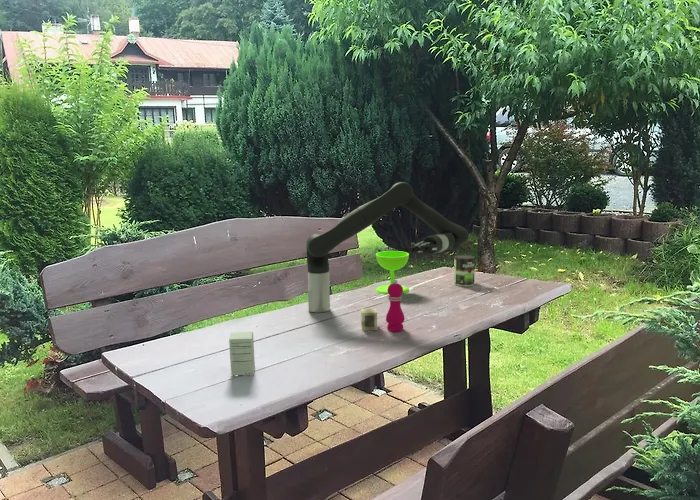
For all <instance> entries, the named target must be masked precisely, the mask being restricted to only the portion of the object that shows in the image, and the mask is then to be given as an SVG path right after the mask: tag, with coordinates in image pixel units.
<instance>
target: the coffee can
mask: <svg viewBox="0 0 700 500" xmlns="http://www.w3.org/2000/svg"><path fill="white" fill-rule="evenodd" d="M453 258H454V263H453V267H454V268H453V270H454V271H453V285H455V286H458V287H473V286H475V270H476V269H475V268H476V267H475V266H476V256H475V255H472V254H456V255H454V257H453Z"/></svg>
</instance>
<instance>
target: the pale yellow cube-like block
mask: <svg viewBox="0 0 700 500" xmlns="http://www.w3.org/2000/svg"><path fill="white" fill-rule="evenodd" d="M360 317H361V319H360V324H361V325H360V327H361V331H378V311H377V308H361V309H360Z"/></svg>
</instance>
